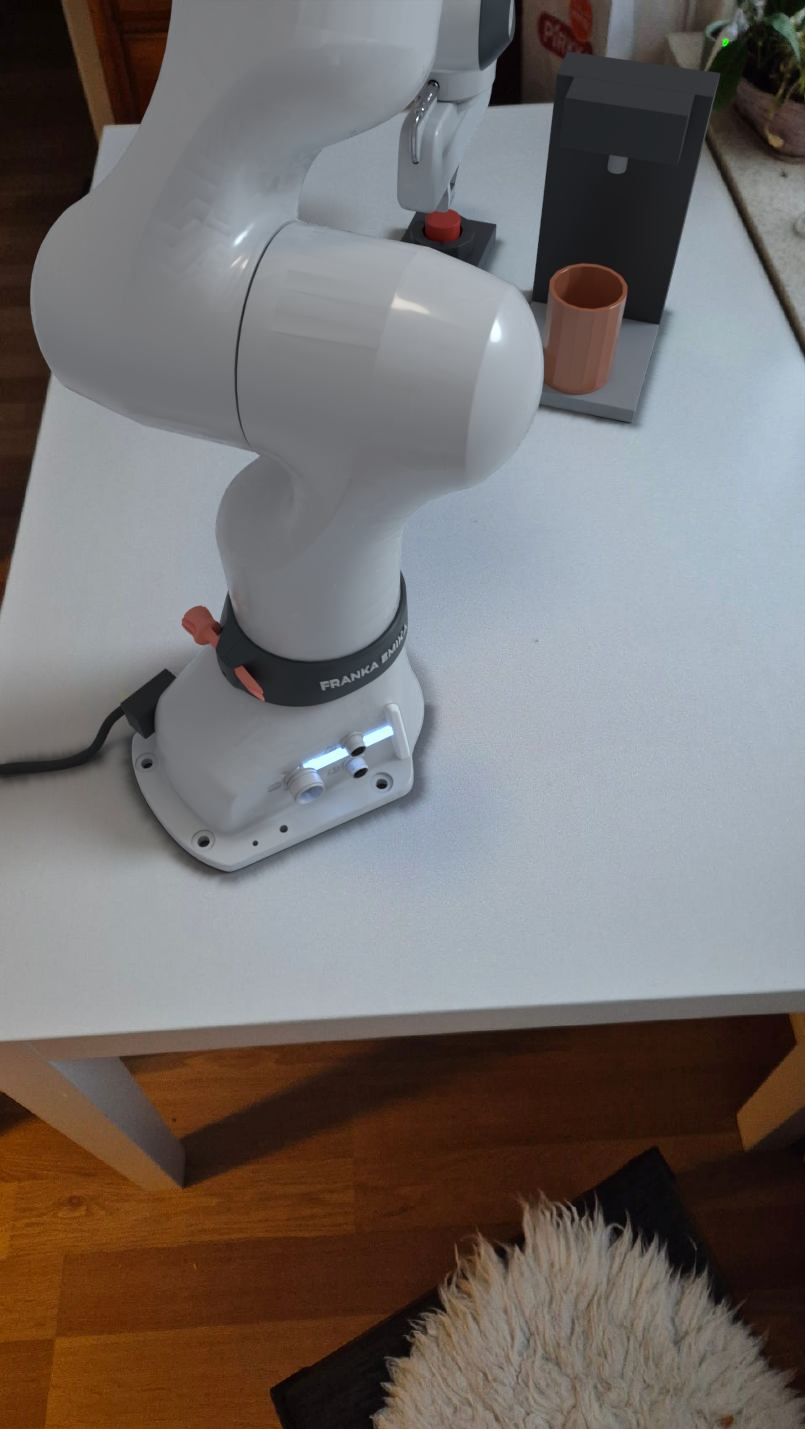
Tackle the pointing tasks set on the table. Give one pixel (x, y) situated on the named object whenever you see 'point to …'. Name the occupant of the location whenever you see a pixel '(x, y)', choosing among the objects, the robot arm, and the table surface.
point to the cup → (582, 327)
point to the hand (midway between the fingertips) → (443, 204)
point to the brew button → (442, 226)
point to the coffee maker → (620, 199)
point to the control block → (457, 240)
